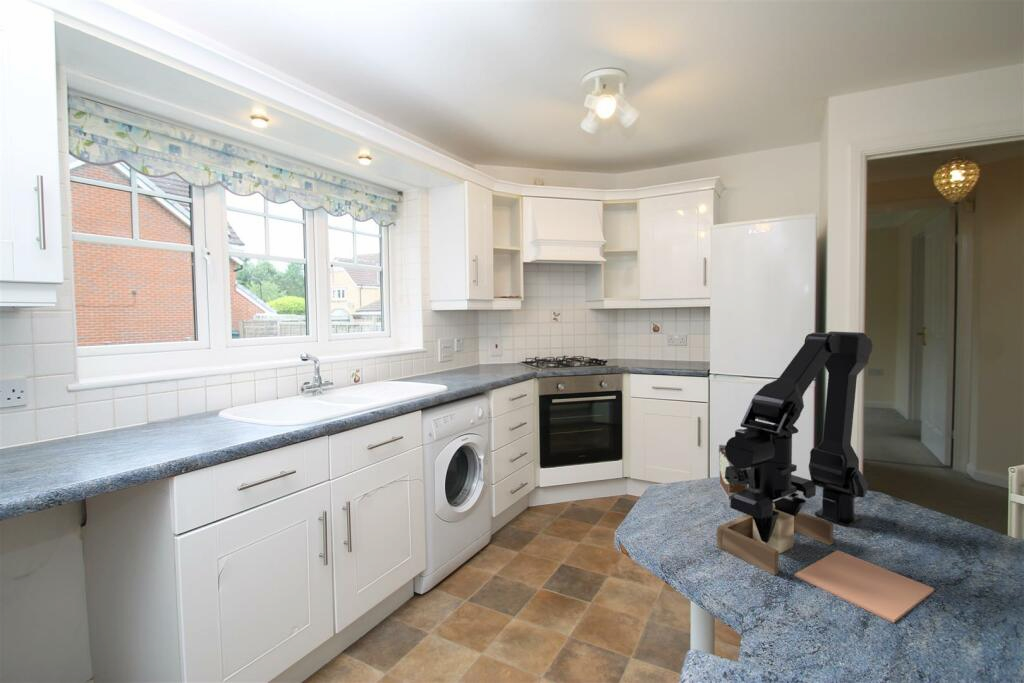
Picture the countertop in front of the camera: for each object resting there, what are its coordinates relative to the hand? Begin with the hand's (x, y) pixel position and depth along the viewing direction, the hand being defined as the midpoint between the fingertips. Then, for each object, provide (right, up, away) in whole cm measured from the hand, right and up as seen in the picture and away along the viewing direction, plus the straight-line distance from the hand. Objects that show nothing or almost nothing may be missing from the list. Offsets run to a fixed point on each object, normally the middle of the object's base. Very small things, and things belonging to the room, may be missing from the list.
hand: (772, 537), depth 91 cm
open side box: (0, -1, 0) cm, 1 cm away
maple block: (0, -1, 0) cm, 1 cm away
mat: (+8, -2, -13) cm, 15 cm away
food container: (+5, +1, +25) cm, 26 cm away
